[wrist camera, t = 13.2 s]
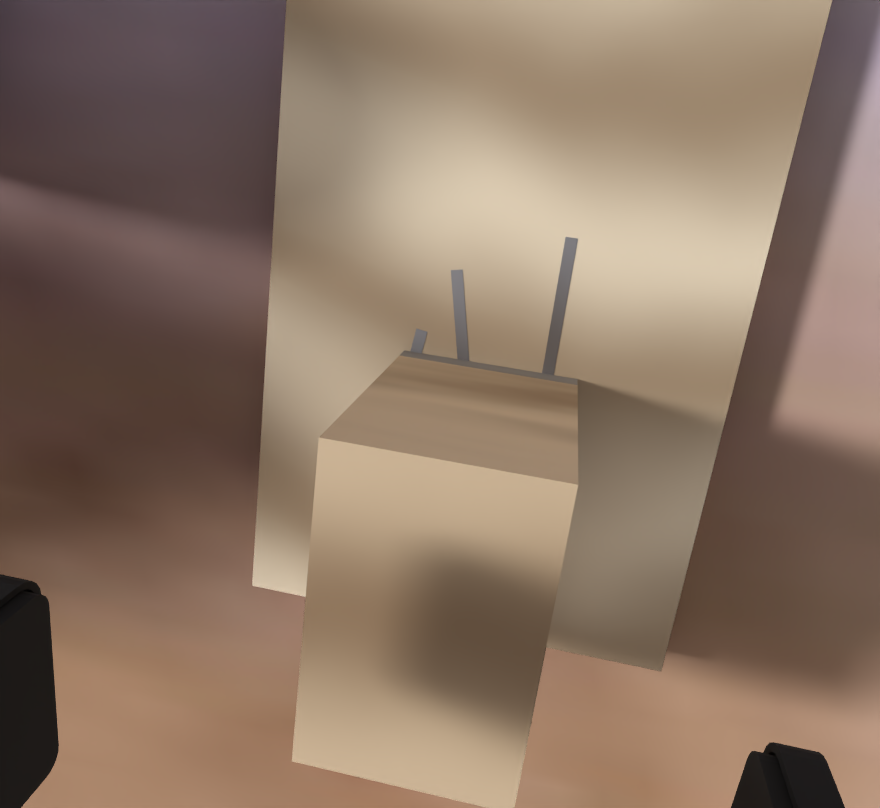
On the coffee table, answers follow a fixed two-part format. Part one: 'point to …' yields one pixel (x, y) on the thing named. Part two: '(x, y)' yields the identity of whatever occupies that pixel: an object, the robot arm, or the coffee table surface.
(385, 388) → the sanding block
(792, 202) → the coffee table surface
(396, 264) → the board
